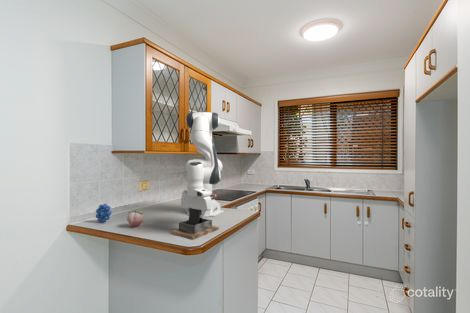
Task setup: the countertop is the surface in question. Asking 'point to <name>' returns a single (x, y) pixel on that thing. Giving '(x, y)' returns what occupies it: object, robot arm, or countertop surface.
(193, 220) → the phone stand
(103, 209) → the grapes
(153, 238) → the countertop surface
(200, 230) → the socket board
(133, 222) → the decorative fruit
